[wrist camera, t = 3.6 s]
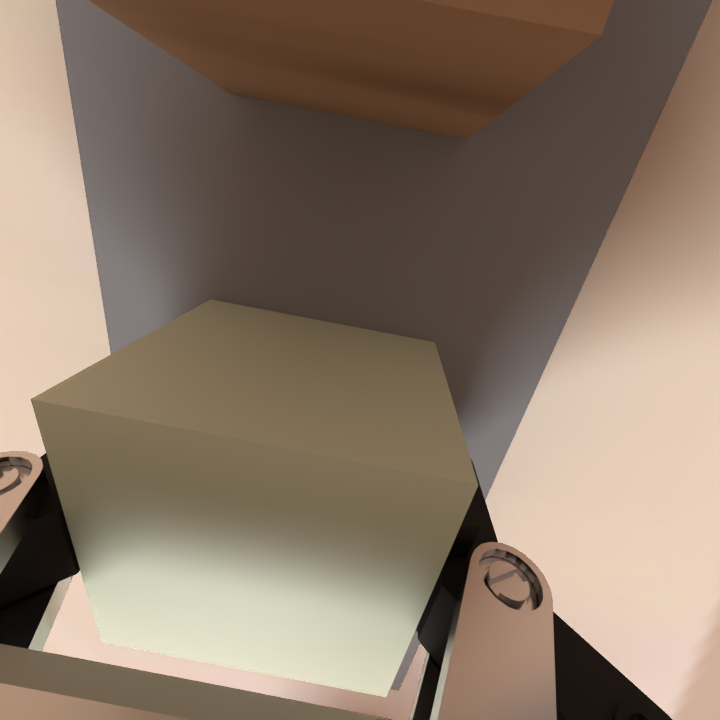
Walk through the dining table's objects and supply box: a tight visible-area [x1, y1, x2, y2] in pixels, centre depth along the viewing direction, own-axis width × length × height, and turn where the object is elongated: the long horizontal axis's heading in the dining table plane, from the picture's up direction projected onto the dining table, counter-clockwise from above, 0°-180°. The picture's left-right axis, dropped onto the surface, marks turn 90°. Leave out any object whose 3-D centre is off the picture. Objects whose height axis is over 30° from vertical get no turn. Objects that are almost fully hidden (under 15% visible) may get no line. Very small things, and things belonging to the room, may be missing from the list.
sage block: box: [31, 299, 478, 697], centre depth 8 cm, size 6×6×5 cm
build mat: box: [56, 0, 712, 690], centre depth 11 cm, size 28×12×1 cm, turn 170°
